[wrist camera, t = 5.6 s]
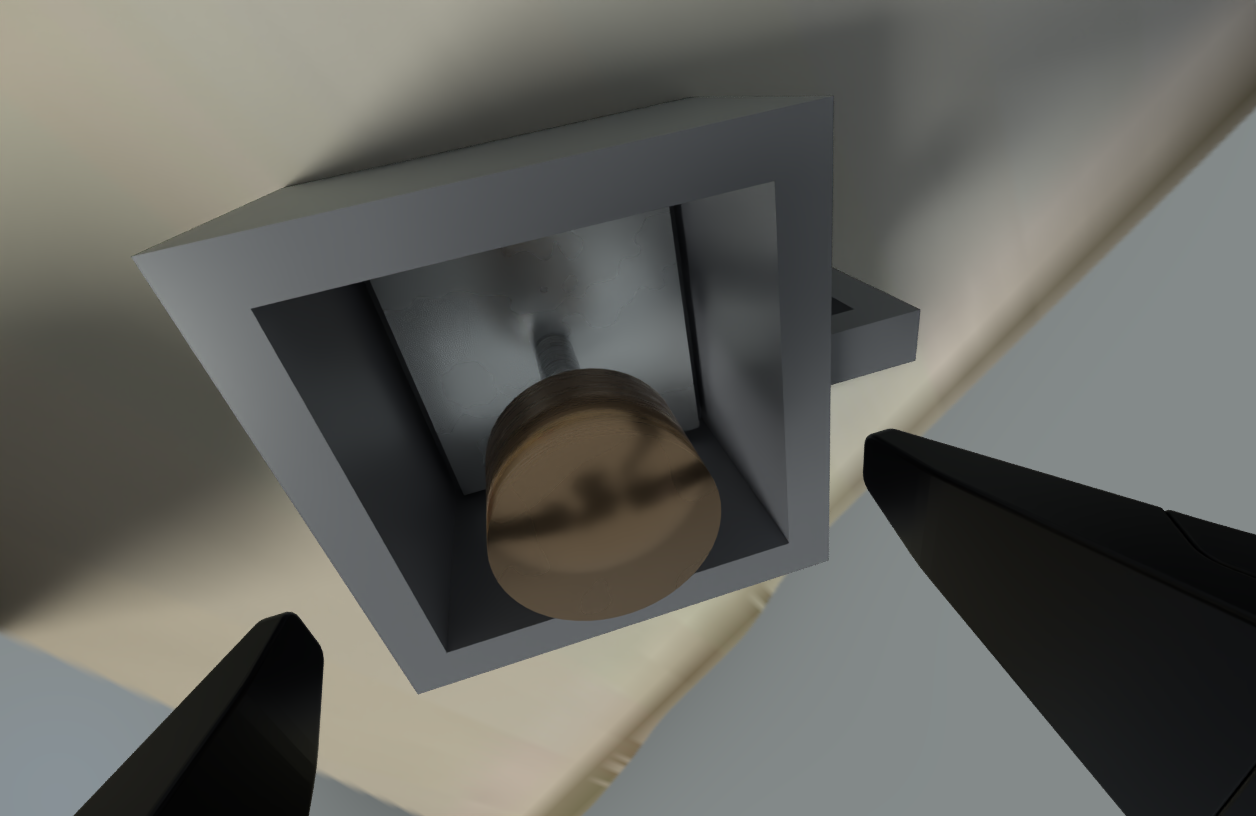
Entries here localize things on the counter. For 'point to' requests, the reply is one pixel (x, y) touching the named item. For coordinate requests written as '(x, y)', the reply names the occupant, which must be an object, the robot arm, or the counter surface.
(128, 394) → the counter surface
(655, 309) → the plunger
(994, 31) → the counter surface
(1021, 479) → the robot arm
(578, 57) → the counter surface
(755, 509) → the press body
